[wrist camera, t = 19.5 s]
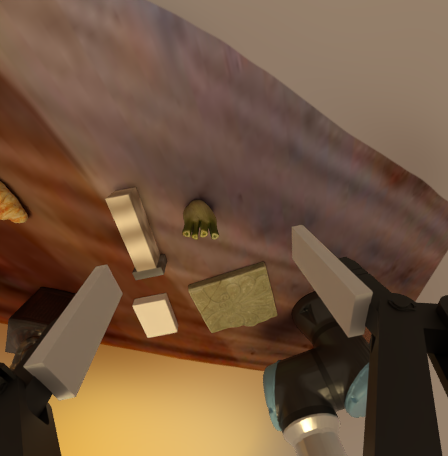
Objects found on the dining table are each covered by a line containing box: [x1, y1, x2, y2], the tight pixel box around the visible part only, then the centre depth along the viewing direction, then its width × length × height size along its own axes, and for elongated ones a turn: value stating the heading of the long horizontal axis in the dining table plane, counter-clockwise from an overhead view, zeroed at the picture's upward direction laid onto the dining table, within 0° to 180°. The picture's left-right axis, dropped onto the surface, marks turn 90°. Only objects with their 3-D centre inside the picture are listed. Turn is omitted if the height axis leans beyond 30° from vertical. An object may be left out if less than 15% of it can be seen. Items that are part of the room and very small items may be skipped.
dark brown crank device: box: [5, 287, 76, 371], centre depth 42 cm, size 16×11×18 cm
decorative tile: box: [188, 262, 277, 333], centre depth 55 cm, size 19×20×4 cm
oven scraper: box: [105, 187, 167, 280], centre depth 42 cm, size 18×6×5 cm, turn 9°
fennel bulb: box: [182, 200, 219, 240], centre depth 38 cm, size 6×5×12 cm
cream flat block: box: [132, 293, 178, 338], centre depth 54 cm, size 3×8×12 cm
